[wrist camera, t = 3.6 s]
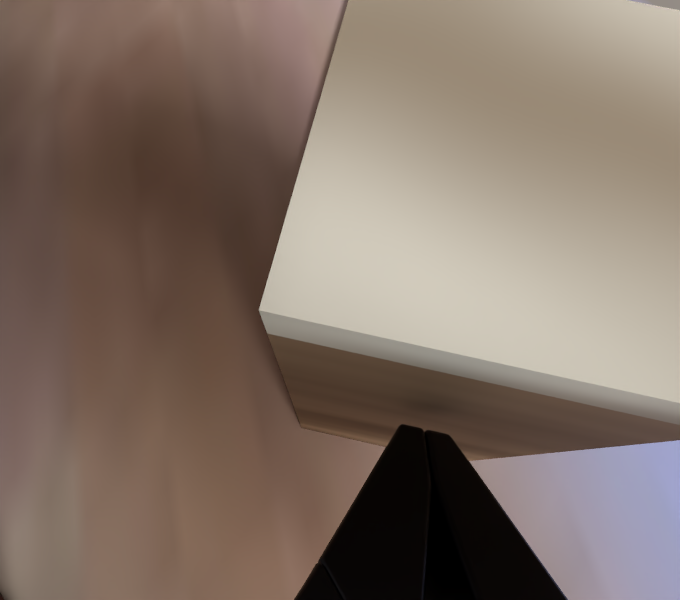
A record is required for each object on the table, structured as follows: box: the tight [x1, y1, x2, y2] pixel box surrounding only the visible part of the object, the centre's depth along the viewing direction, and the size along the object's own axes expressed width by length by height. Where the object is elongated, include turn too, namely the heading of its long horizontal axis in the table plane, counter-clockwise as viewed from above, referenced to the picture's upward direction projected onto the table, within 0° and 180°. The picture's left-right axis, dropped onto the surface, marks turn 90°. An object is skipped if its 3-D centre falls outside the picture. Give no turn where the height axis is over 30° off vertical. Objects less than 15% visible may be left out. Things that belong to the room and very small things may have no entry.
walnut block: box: [259, 0, 680, 461], centre depth 11 cm, size 5×5×12 cm
